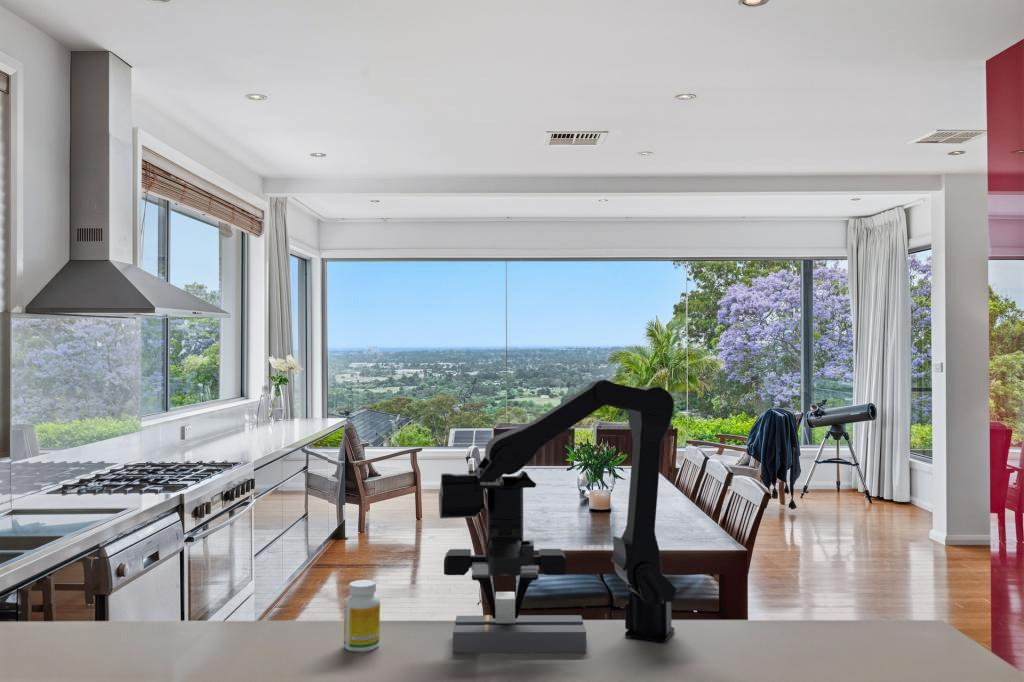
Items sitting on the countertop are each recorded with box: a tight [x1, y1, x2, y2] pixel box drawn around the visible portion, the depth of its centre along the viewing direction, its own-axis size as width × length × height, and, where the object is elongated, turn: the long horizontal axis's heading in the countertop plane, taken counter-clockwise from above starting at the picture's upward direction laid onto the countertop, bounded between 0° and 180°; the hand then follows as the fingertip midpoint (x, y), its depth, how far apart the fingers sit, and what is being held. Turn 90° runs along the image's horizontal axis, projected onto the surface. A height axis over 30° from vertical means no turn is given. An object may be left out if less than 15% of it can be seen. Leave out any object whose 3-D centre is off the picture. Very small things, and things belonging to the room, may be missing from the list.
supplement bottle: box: [343, 579, 381, 653], centre depth 114 cm, size 5×5×10 cm
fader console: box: [452, 614, 587, 654], centre depth 116 cm, size 20×8×3 cm, turn 90°
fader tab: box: [495, 591, 516, 625], centre depth 116 cm, size 3×4×6 cm
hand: (505, 617), depth 116 cm, fingers closed on fader tab, 3 cm apart
